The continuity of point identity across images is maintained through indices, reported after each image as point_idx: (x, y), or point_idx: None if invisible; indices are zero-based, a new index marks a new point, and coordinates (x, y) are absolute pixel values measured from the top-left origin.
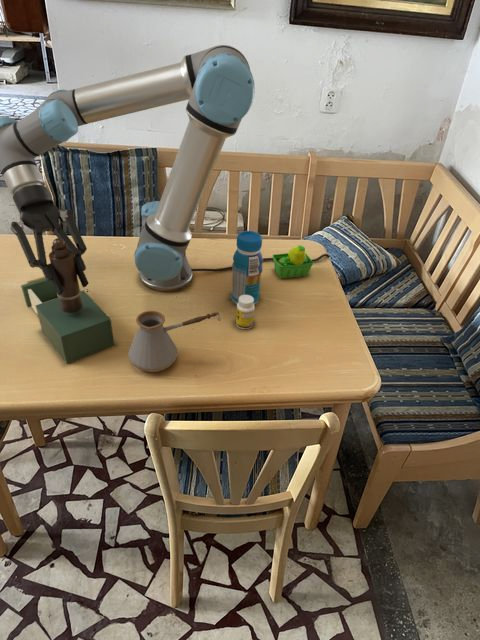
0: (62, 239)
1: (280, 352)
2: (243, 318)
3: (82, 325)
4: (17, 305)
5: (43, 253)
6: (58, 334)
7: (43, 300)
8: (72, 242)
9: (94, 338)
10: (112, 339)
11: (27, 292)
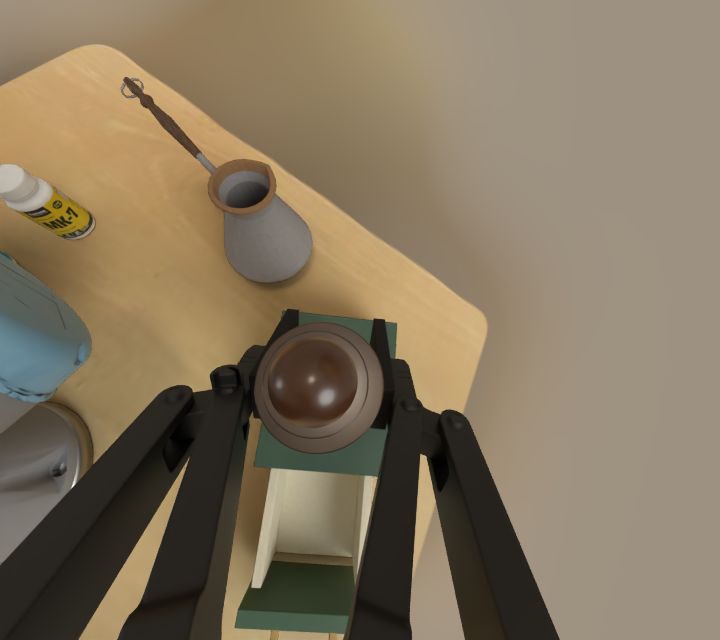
0: (274, 379)
1: (112, 147)
2: (69, 199)
3: None
4: None
5: (397, 441)
6: (396, 334)
7: (324, 568)
8: (194, 444)
9: None
10: None
11: None
